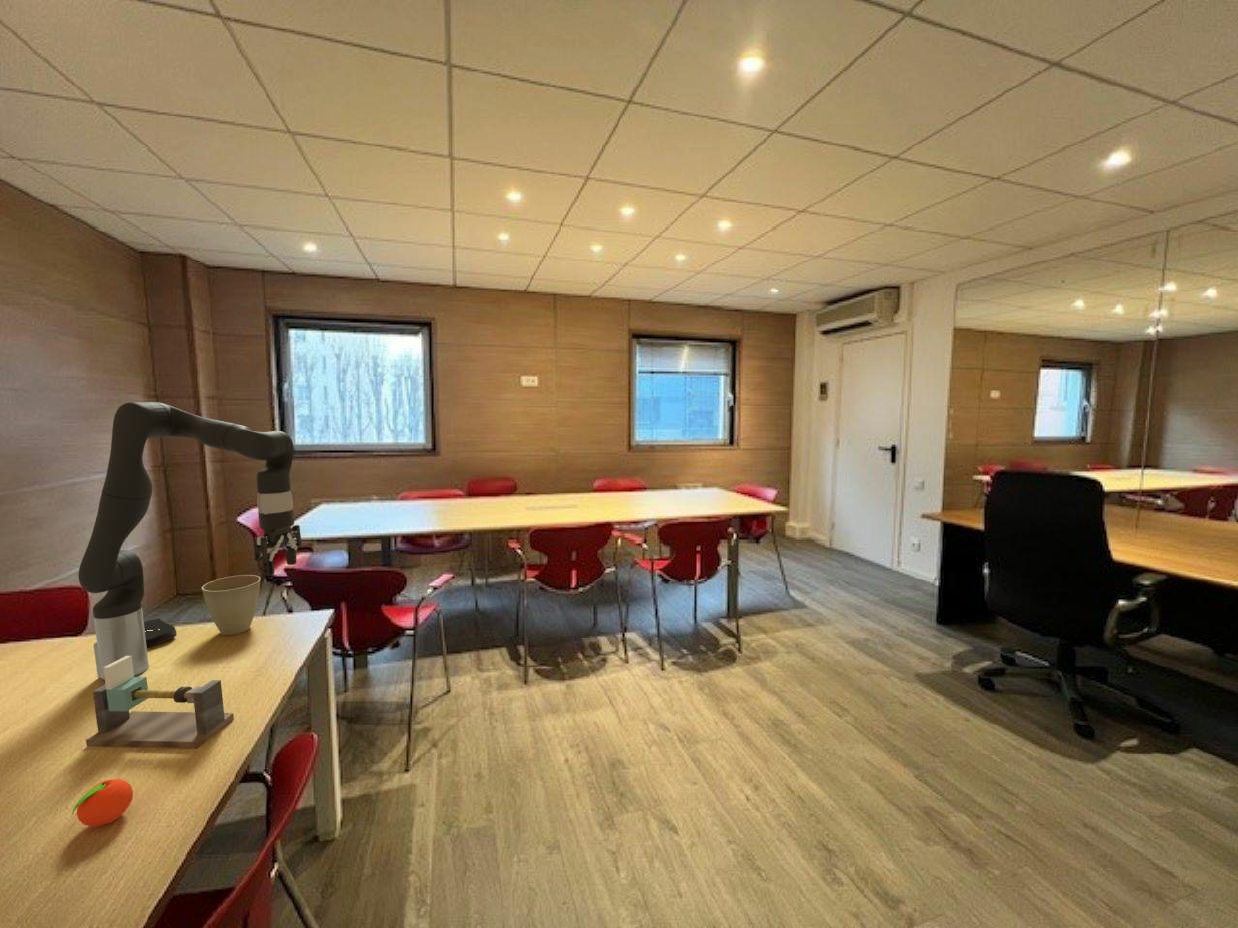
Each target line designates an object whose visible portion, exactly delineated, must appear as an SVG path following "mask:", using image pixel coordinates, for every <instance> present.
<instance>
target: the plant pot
mask: <svg viewBox="0 0 1238 928" xmlns="http://www.w3.org/2000/svg"><path fill="white" fill-rule="evenodd" d="M260 587H261V577H260V576H259V575H252V574H241V575H233V576H227V577H222V578H218V579H215V580H212V581H208V582H207V583H204V584H203V585H202V586H201V591H202V594H203V598H204V602H205V605H206V608H207V610H208V612H209V615H210V617H211V619H212V620H213V622H214V625H215V626H216V628H217V629H218V632H219V633H220V634H221V635H222V636H234V635H238V634H242V633H245V632H246V631H248V630H249V629H250V628H251V625H252V622H253V621H254V620H253V619H254V617H255V614H256V610H257V605H258V601H259V598H260V597H259V596H260V590H261V589H260Z"/></svg>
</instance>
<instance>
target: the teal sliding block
mask: <svg viewBox="0 0 1238 928" xmlns="http://www.w3.org/2000/svg"><path fill="white" fill-rule="evenodd" d="M103 669H104V677H105V681H104V682H105V684H104V685H106V692H107V700H108V708H109V711H128V710H129V711H131V710H132V709H134V708H135V707H136V706H138V705H140V704H141V703H142V702H143V703H144V702H145V701H146V700H148V699H149V698H132V693H131V692H132V691H134V690H149V687H148V681H147V680H148V678H147V676H134V671H133V662H132V656H125V657H123V658H121V659H119V660H117V661H115V662H113V663H111V664H109V665H107V666H105V667H103Z"/></svg>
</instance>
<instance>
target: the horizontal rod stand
mask: <svg viewBox="0 0 1238 928" xmlns="http://www.w3.org/2000/svg"><path fill="white" fill-rule="evenodd" d="M131 693H132V698H148V699H173V701H174V702H175V703H179V704H180V703H181V704H183V703H187V704H193V707H194V712H193V711H192V712H191V711H190V712H189V711H187V712H186V711H135V710H134V711H130V710H128V711H109V708H108V700H107V692H106V685H105V684H103V685H102V686H100V687H98V688H97V689H95V690H93V691H92V695H93V702H94V710H95V711H94V712H95V718H96V727H97V732H96V733H95V734H93V735H91V736H90V737H89V738H86V739H85V742H86V743H85V744H86V747H92V748H93V747H96V748H97V747H101V748H103V747H104V748H154V749H157V748H158V749H159V748H160V749H198V748H199V747H201V746H202V745H204V744H205V743H206V742H208V741H209V740H210V739H211V738H212V737H214V736H215V735H216V734H217V733H219V732H220V731H221V730H222V729H224V728H225V727H226V726H227V725H228V724H230V723H231V722H232V721H234V719H235V715H234V712H225V709H224V699H223V688H222V680H221V679H220V680H219V679H216V680H215V679H212V680H210V681H209V682H207V683H206V684H204V685H203V686H194V687H191V686H180V687H178V688H177V689H175V690H171V689H170V690H168V689H167V690H164V689H162V690H160V689H148V690H134V691H132V692H131Z"/></svg>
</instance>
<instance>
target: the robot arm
mask: <svg viewBox="0 0 1238 928" xmlns="http://www.w3.org/2000/svg"><path fill="white" fill-rule="evenodd" d="M112 421H113V422H112V429H111V431H112V432H111V440H110V441H111V445H110V452H109V459H108V464H107V468H106V470H107V471H106V473H105V475H106V476H105V480H104V483H103V486H102V489H101V494H100V499H99V503H98V508H97V512H96V513H97V514H96V517H95V521H94V524H93V527H92V532H91V536H90V539H89V541H88V544H87V546H86V549H85V552H84V554H83V556H82V559H81V562H80V564H79V568H78V575H77V576H78V582H79V585H80V586H81V588H82V589H83V590H84V591H86V592H87V593H90V594H102V593H105V592H106V593H105V595H104V596H103V597H102V598H101V599H99V601H97V602H96V603H95V604H94V605H93V607H92V614H93V615H92V616H93V622H94V630H95V631H94V632H95V636H96V637H95V638H96V642H95V643H93V652H94V657H95V659H94V661H95V666H96V667H95V668H96V674H97V678H98V679H101V680H102V681H103V682H105V677H104V669H103V667H105V666H107V665H109V664H111V663H113V662H115V661H117V660H119V659H121V658H123V657H125V656H132V662H133V671H134V677H136V676H137V675H140V674H142V673H143V672H145V671H147V670H148V669H149V667H150V665H149V656H148V655H149V654H148V648H147V646H146V637H145V629H144V622H145V621H144V620H145V619H144V613H143V604H142V601H143V599H144V596H145V582H144V581H145V580H144V567H143V566H144V565H143V563H142V561H141V559H140V556H138V554H137V553H135V552H133V551H131V550H129V549H122V546H123V544H124V542H126V539H127V538H128V537H129V535H130V534H131V533H132V532H133V531H134V530H135V529H136V528H137V526H138V525H139V524H140V522H142V520H143V519H144V517H145V516H146V514H147V512H148V510H149V507H150V503H151V498H152V494H153V483H152V480H151V478H150V476H149V474H148V471H147V469H146V467H145V466H144V462H143V460H144V459H143V455H144V450H145V447H146V443H147V440H148V439H157V438H160V439H161V438H164V437H177V438H178V437H181V438H188V439H192V440H193V439H194V440H195V441H197V442H199V443H201V444H203V445H205V446H207V447H210V448H215V449H218V450H223V451H228V452H232V453H237V454H239V455H241V456H244V457H245V458H248V459H252V460H258V461H266V462H265V466H264V468H262V469H260V470H259V471H258V472H257V474H256V489H257V513H258V525H259V526H258V527H259V528H260V529H261V530H263V535H262V536H256V537H254V538H253V549H254V550H253V551H254V552H253V553H254V561H255V562H261V563H262V572H263V575H264V577H265V576H267V577H270V576H273V575H275V565H274V562H275V561H274V560H273V559H274V557H275V554H277V553H278V552H279V549H281V548H284V549H285V550H286V551H285V554H286V555H285V556H286V557H285V558H286V560H285V561H286V564H287V565H288V566H294V565H296V564H297V551H298V548H299V547H301V546H302V537H301V528H300V527H301V526H300V525H299V524H295V515H294V513H295V512H294V503H293V501H294V500H293V496H292V491H291V490H292V489H291V478H290V474H291V473H290V472H291V469H292V465H293V460H294V453H295V451H294V450H295V449H294V446H295V445H294V442H293V440H292V438H291V436H290V435H289V434H288V433H286V432H284V431H282V430H281V431H280V430H274V431H273V430H271V431H254V430H252V429H251V427H250V428H249V427H248V426H245V425H242V424H237V423H233V422H227V421H222V420H219V419H218V420H217V419H212V418H209V417H203V416H199V415H196V414H193V413H190V412H187V411H184V410H182V409H180V408H177V407H174V406H172V405H169V404H166V403H162V402H160V401H159V402H158V401H128V402H125V403H123V404H121V405H120V406H119V407H118V408H117V409H116V411H115V413H114V417H113V420H112ZM295 539H296V540H295ZM268 554H269V555H268Z"/></svg>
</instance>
